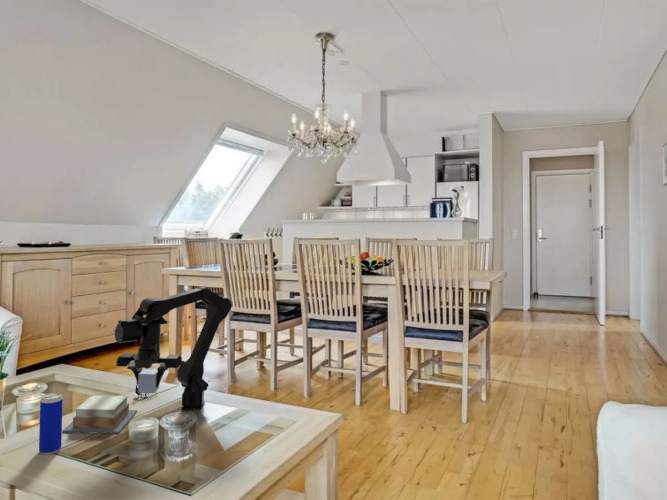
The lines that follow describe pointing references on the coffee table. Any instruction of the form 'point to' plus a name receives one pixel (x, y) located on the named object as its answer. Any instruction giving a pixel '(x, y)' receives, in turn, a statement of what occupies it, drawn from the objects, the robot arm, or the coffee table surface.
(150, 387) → the top block
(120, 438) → the coffee table surface
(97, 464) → the coffee table surface
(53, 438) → the beverage can
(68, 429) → the grey square plate
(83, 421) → the plinth
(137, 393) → the creature
